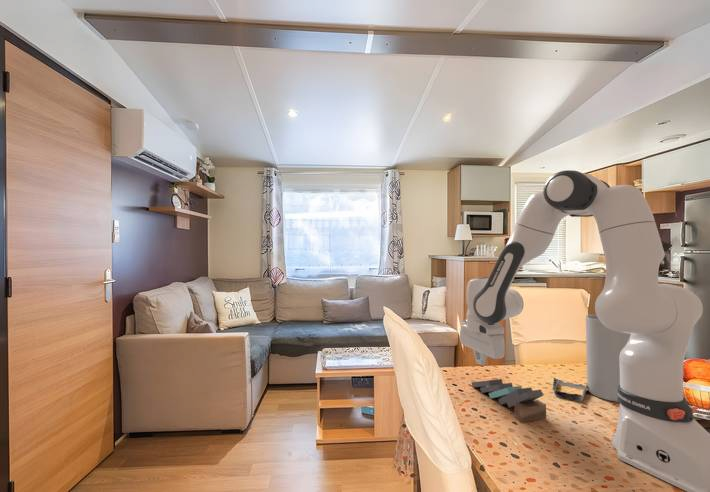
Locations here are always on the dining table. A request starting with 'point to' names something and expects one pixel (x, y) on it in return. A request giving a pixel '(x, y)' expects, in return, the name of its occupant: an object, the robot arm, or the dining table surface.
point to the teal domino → (503, 392)
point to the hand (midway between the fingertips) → (480, 364)
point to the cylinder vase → (603, 358)
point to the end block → (530, 411)
